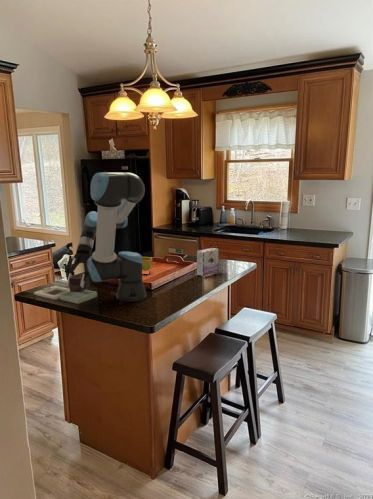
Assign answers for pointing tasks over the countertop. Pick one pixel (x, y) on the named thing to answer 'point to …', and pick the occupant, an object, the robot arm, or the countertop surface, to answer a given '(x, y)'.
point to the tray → (78, 296)
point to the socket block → (49, 289)
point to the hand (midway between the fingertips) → (74, 286)
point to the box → (76, 283)
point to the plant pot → (146, 263)
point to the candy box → (207, 261)
